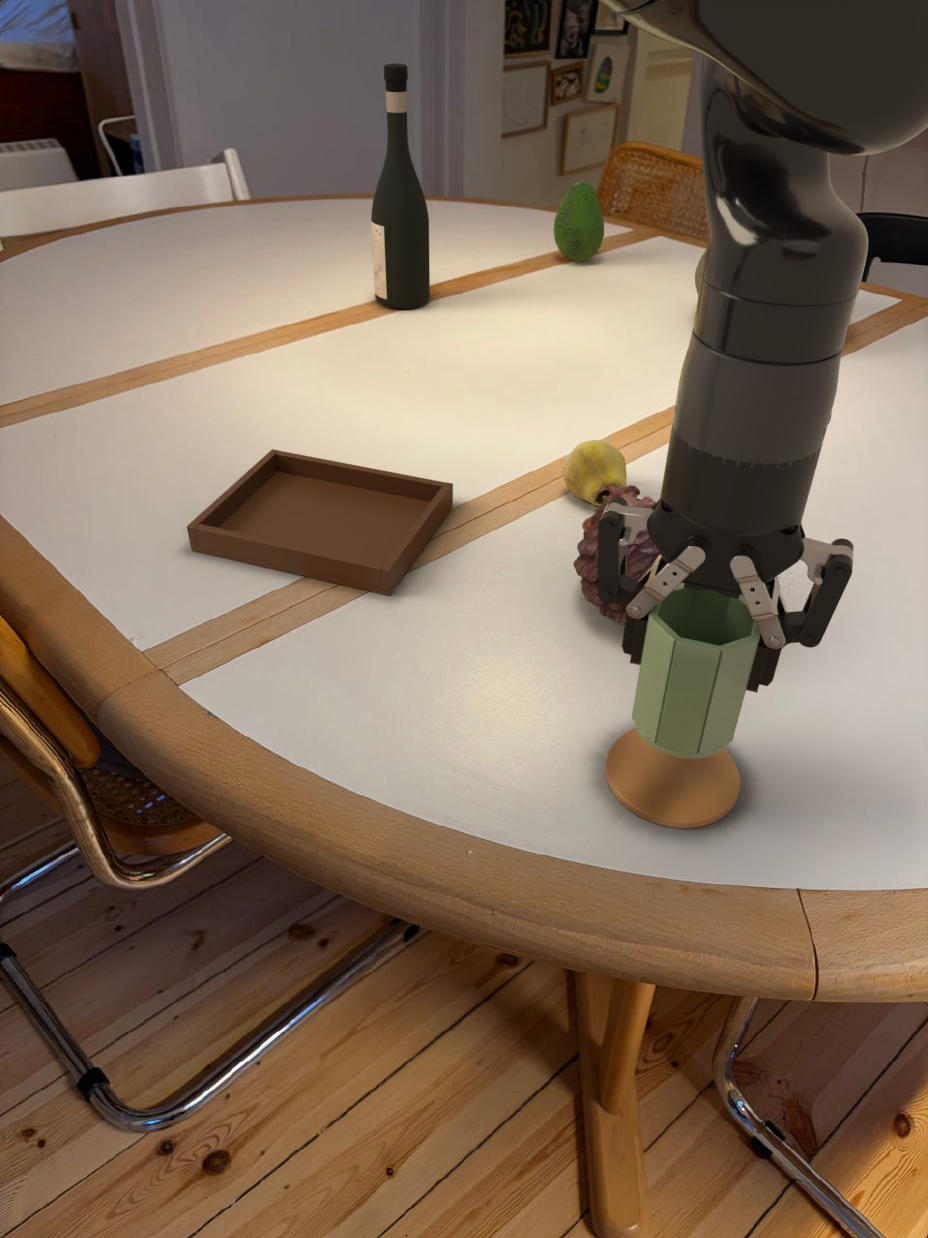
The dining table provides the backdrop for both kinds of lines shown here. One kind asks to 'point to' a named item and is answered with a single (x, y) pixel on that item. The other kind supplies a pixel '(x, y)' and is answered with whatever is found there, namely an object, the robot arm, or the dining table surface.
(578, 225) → the fruit
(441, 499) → the tray
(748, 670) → the cup
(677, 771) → the coaster
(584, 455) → the fruit
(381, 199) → the wine bottle
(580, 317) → the dining table surface
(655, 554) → the pine cone
